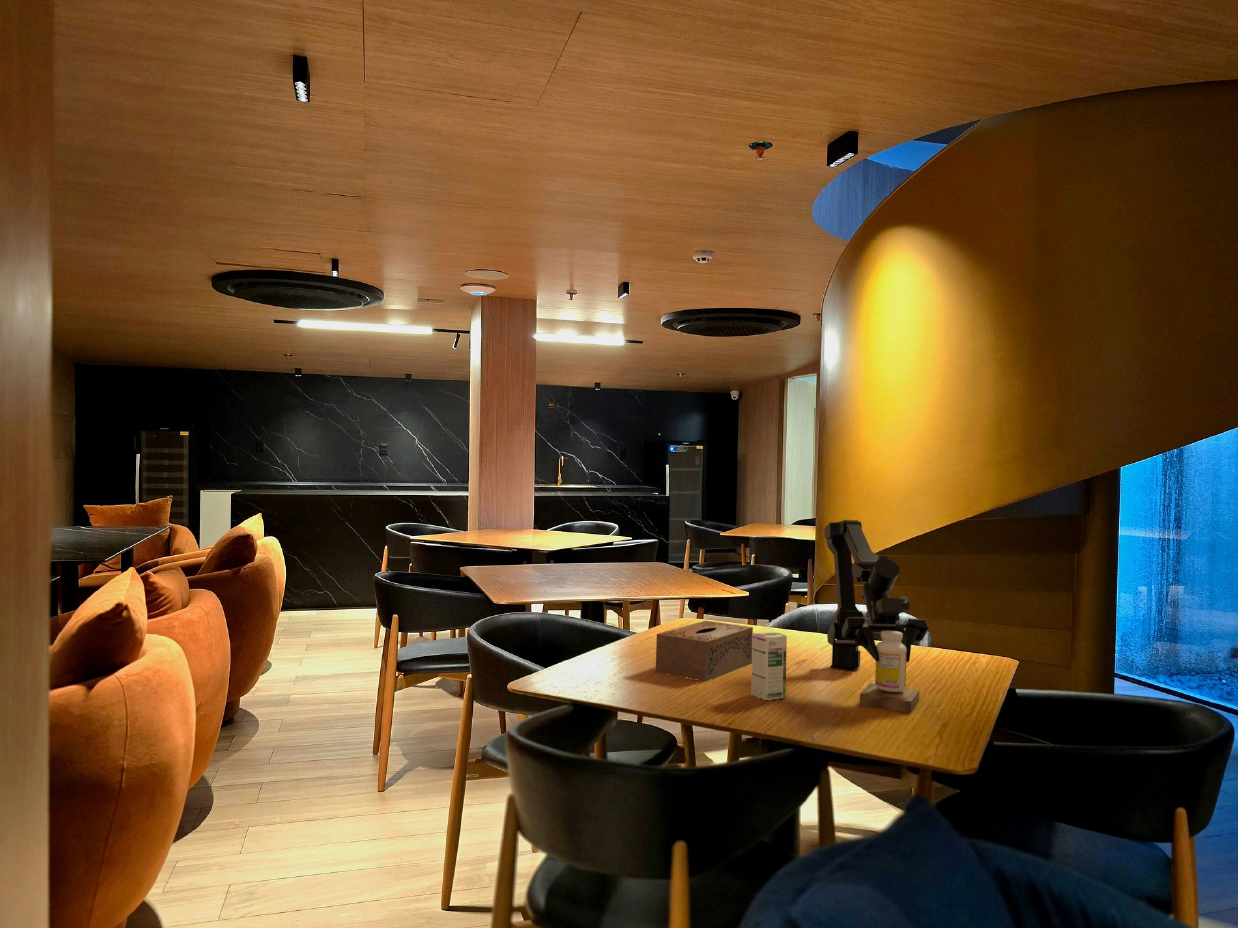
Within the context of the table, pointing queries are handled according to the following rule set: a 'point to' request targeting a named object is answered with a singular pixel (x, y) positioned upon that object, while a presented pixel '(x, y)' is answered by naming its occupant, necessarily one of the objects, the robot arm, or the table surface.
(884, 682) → the supplement bottle
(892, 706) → the plinth
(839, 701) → the table surface
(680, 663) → the tissue box cover
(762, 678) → the syrup box
